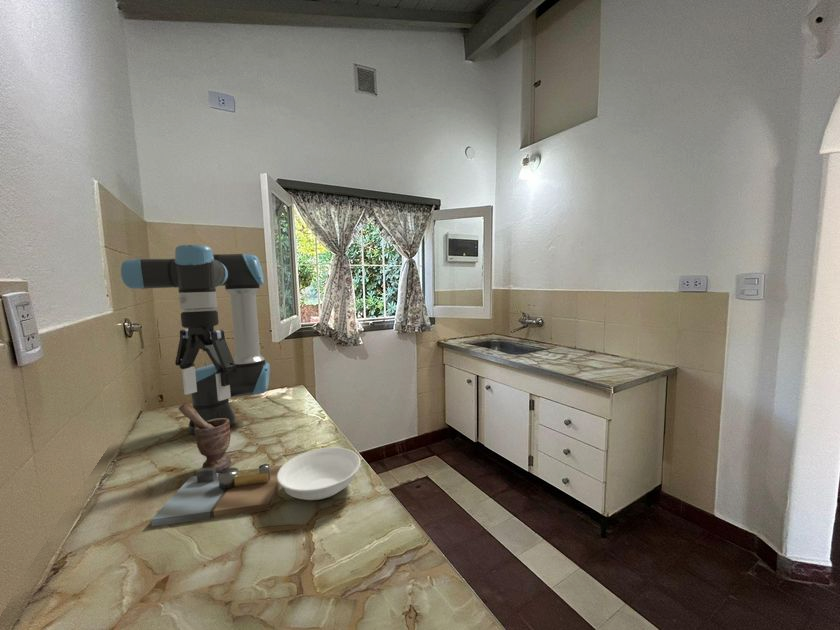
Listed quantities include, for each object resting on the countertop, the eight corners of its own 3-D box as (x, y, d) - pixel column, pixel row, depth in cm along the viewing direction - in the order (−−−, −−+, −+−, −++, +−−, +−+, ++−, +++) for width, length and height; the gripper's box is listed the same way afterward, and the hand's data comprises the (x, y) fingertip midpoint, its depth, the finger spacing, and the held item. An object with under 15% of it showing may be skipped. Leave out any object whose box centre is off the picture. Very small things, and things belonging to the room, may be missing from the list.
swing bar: (215, 490, 81) (214, 476, 81) (223, 480, 85) (222, 467, 85) (267, 483, 83) (266, 470, 83) (272, 474, 87) (271, 461, 87)
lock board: (191, 482, 89) (190, 465, 88) (286, 470, 93) (284, 454, 92) (151, 526, 72) (149, 506, 71) (269, 510, 76) (267, 490, 76)
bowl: (317, 530, 69) (315, 501, 68) (260, 500, 80) (258, 475, 79) (377, 481, 86) (376, 457, 85) (324, 462, 96) (323, 441, 96)
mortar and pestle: (186, 483, 88) (178, 410, 86) (184, 470, 95) (177, 402, 93) (235, 468, 95) (229, 400, 93) (230, 456, 102) (225, 393, 100)
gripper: (153, 311, 82) (161, 395, 84) (216, 311, 71) (224, 407, 73) (185, 309, 89) (193, 386, 91) (247, 308, 78) (254, 396, 80)
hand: (206, 396), depth 82 cm, fingers open, 13 cm apart
